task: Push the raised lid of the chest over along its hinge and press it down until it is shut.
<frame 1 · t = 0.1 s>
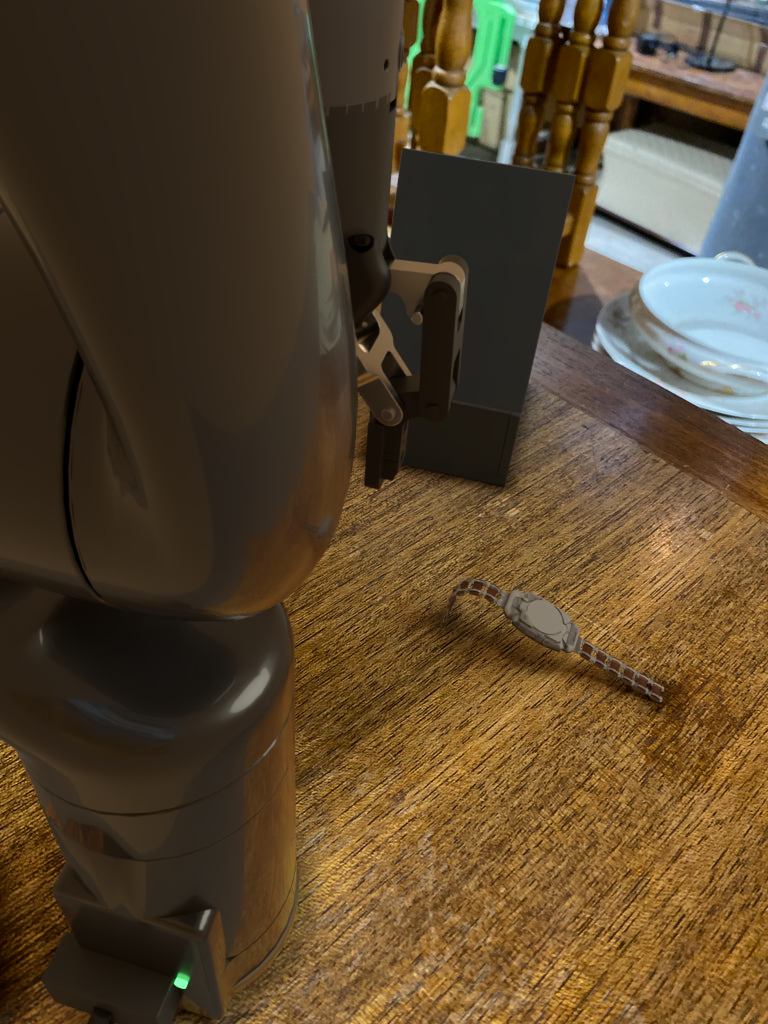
hand: (288, 457, 36), 17 cm above the table, tool pointing down, fingers open, 8 cm apart
lid: (465, 287, 55), point 15 cm above the table, hinge at 75.0°
wristwatch: (548, 658, 50), on the table
chest: (452, 419, 69), on the table
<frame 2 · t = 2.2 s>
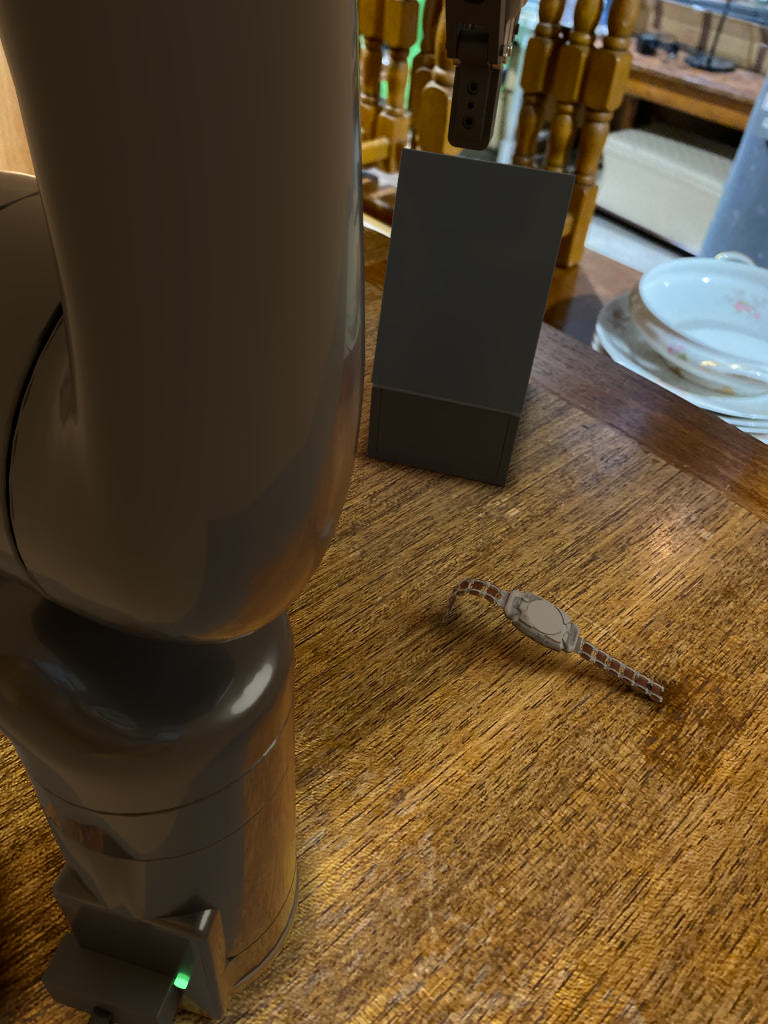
hand: (469, 144, 41), 27 cm above the table, tool pointing down, fingers closed
nothing on the table moved.
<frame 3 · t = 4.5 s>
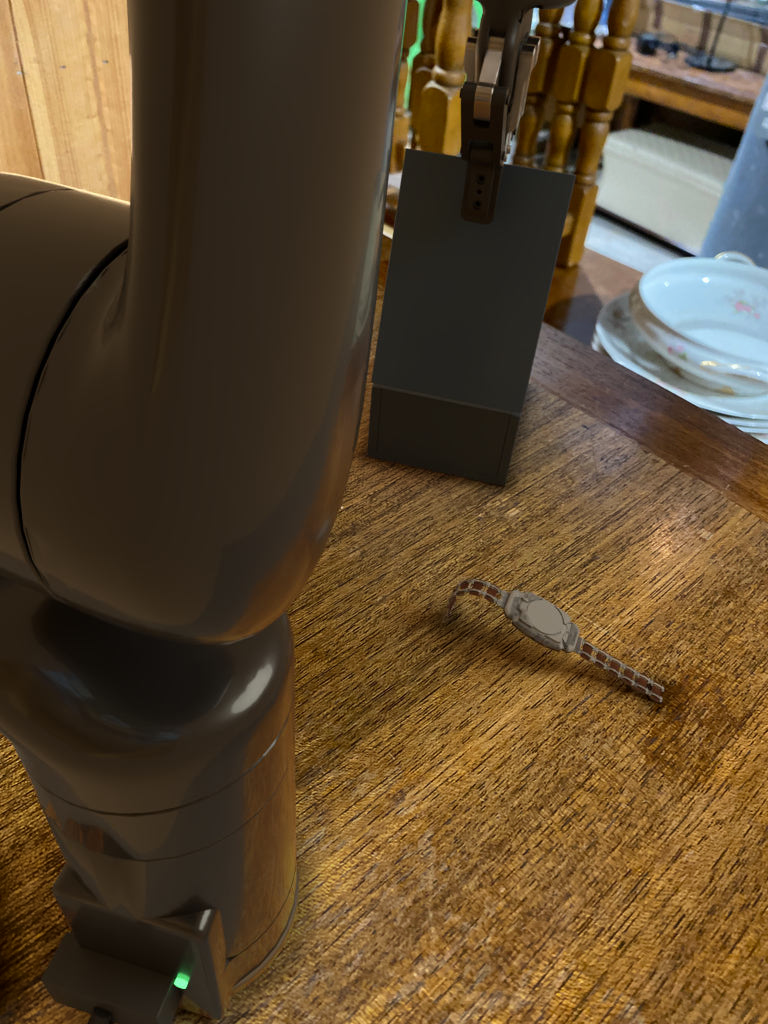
hand: (477, 218, 52), 20 cm above the table, tool pointing down, fingers closed
lid: (466, 285, 56), point 15 cm above the table, hinge at 70.8°, touching gripper
everything else where it was.
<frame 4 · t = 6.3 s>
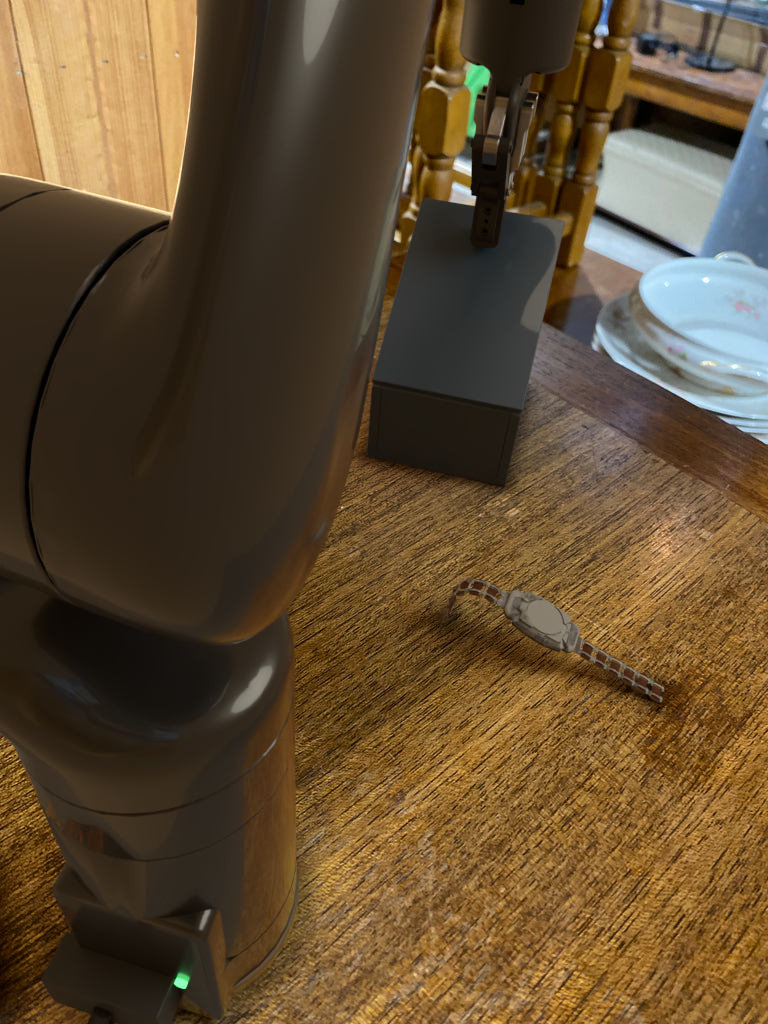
hand: (484, 243, 61), 15 cm above the table, tool pointing down, fingers closed
lid: (470, 301, 61), point 12 cm above the table, hinge at 34.3°, touching gripper
everything else where it was.
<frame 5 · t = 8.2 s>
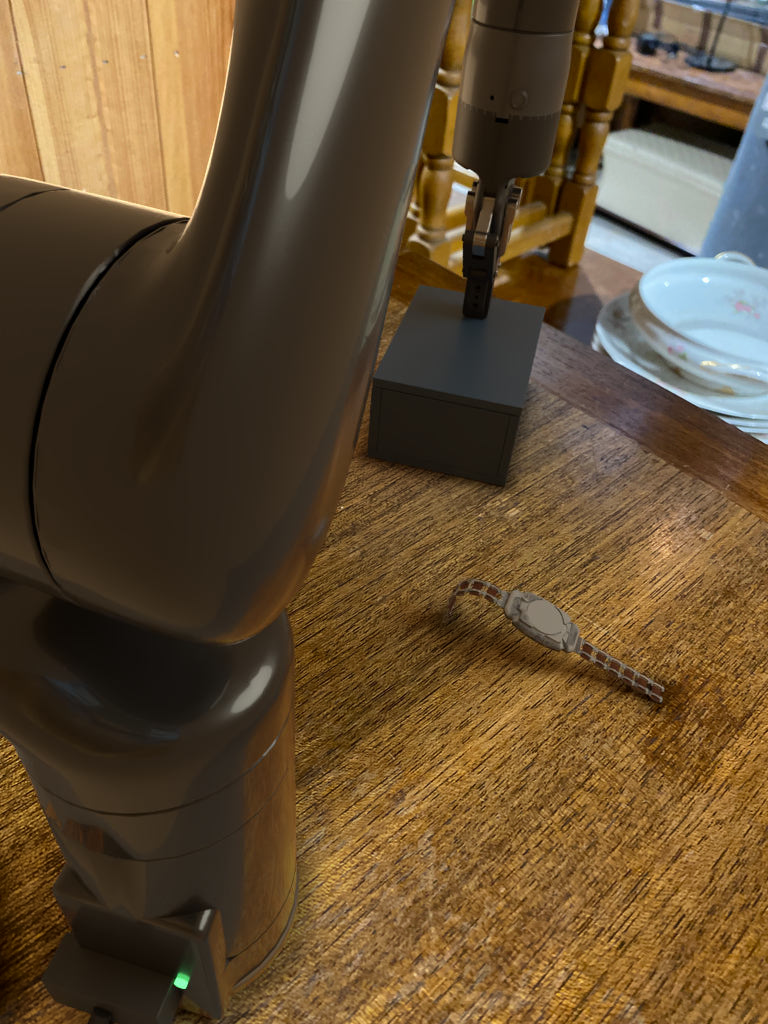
hand: (475, 314, 68), 8 cm above the table, tool pointing down, fingers closed
lid: (465, 343, 65), point 7 cm above the table, hinge at 1.0°, touching gripper
everything else where it was.
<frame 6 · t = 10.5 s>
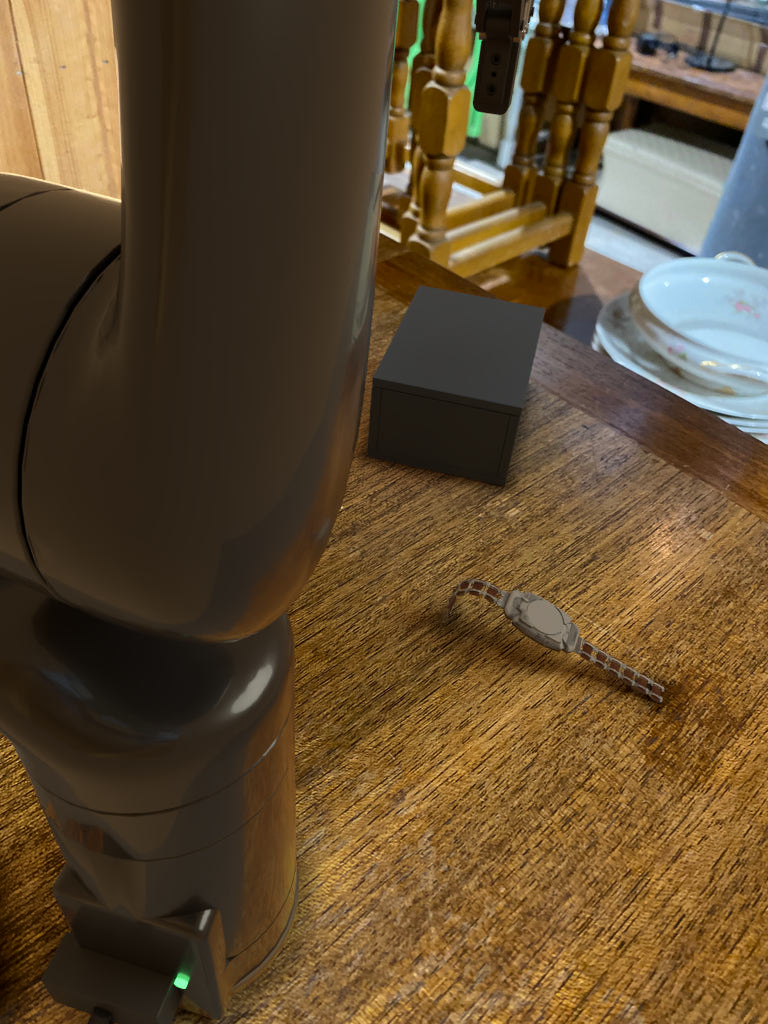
hand: (490, 110, 48), 27 cm above the table, tool pointing down, fingers closed
lid: (465, 344, 65), point 7 cm above the table, hinge at 0.7°
everything else where it was.
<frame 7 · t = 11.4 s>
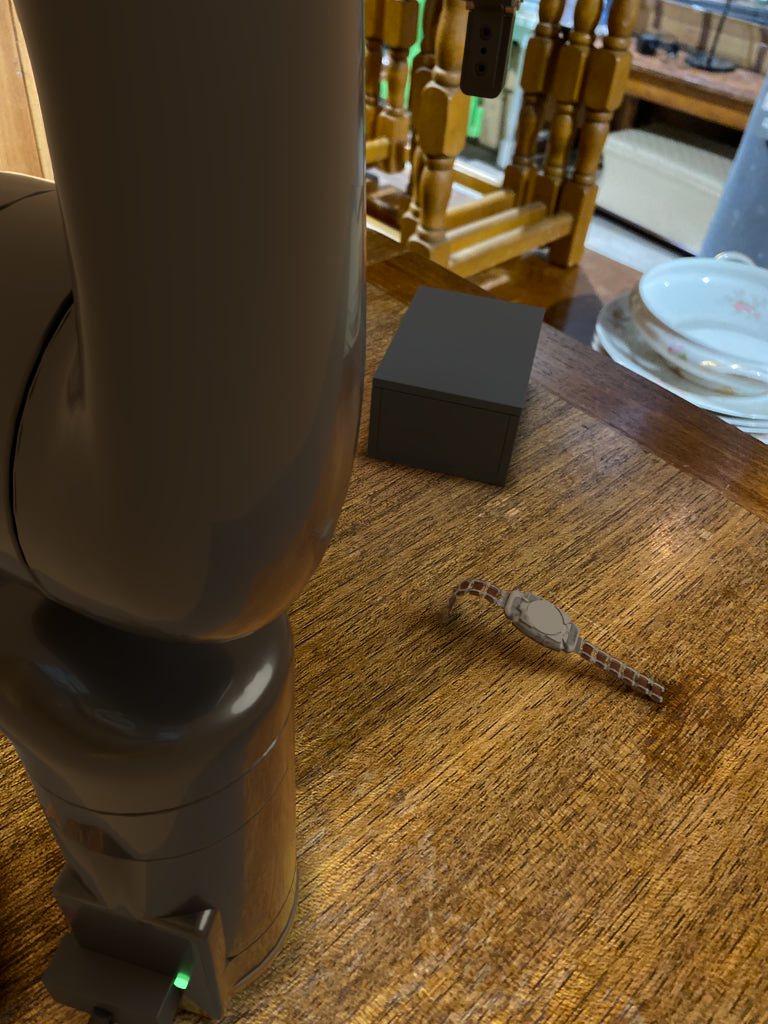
hand: (481, 93, 41), 29 cm above the table, tool pointing down, fingers closed
nothing on the table moved.
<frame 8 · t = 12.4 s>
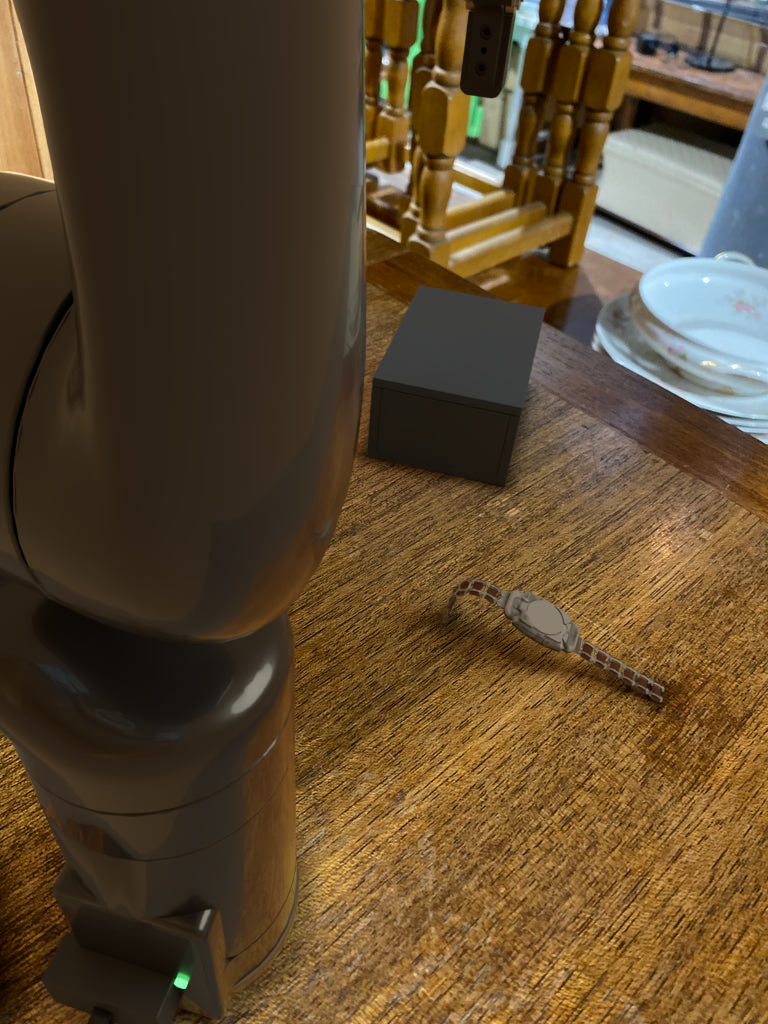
hand: (481, 93, 41), 29 cm above the table, tool pointing down, fingers closed
nothing on the table moved.
at the end: lid at +1° (first picture: +75°); the gripper is holding nothing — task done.
